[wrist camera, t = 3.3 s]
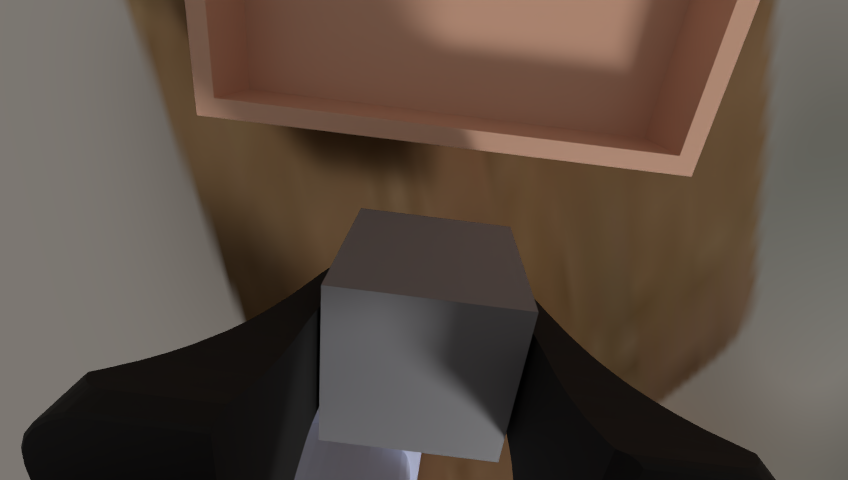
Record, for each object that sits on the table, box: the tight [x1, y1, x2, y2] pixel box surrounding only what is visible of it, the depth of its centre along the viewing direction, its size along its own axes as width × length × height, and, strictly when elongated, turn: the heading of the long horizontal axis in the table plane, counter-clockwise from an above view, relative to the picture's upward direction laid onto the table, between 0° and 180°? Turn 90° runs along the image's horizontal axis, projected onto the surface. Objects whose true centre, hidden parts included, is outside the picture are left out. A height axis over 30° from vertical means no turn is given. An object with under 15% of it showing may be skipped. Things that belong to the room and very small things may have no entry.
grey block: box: [319, 208, 539, 462], centre depth 12 cm, size 4×4×4 cm
